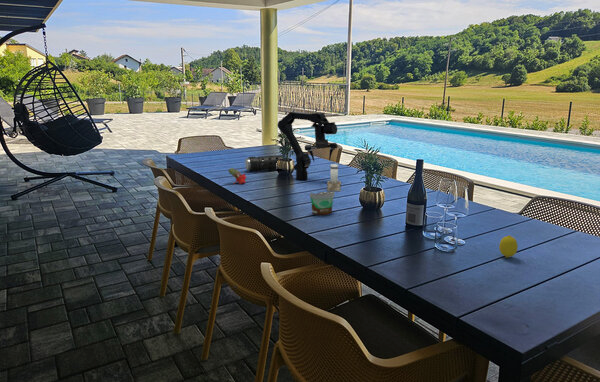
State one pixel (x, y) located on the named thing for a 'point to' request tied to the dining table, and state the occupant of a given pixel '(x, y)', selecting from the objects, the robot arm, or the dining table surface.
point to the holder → (334, 186)
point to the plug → (334, 174)
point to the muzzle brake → (262, 163)
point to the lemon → (508, 246)
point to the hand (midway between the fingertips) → (321, 161)
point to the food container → (322, 202)
